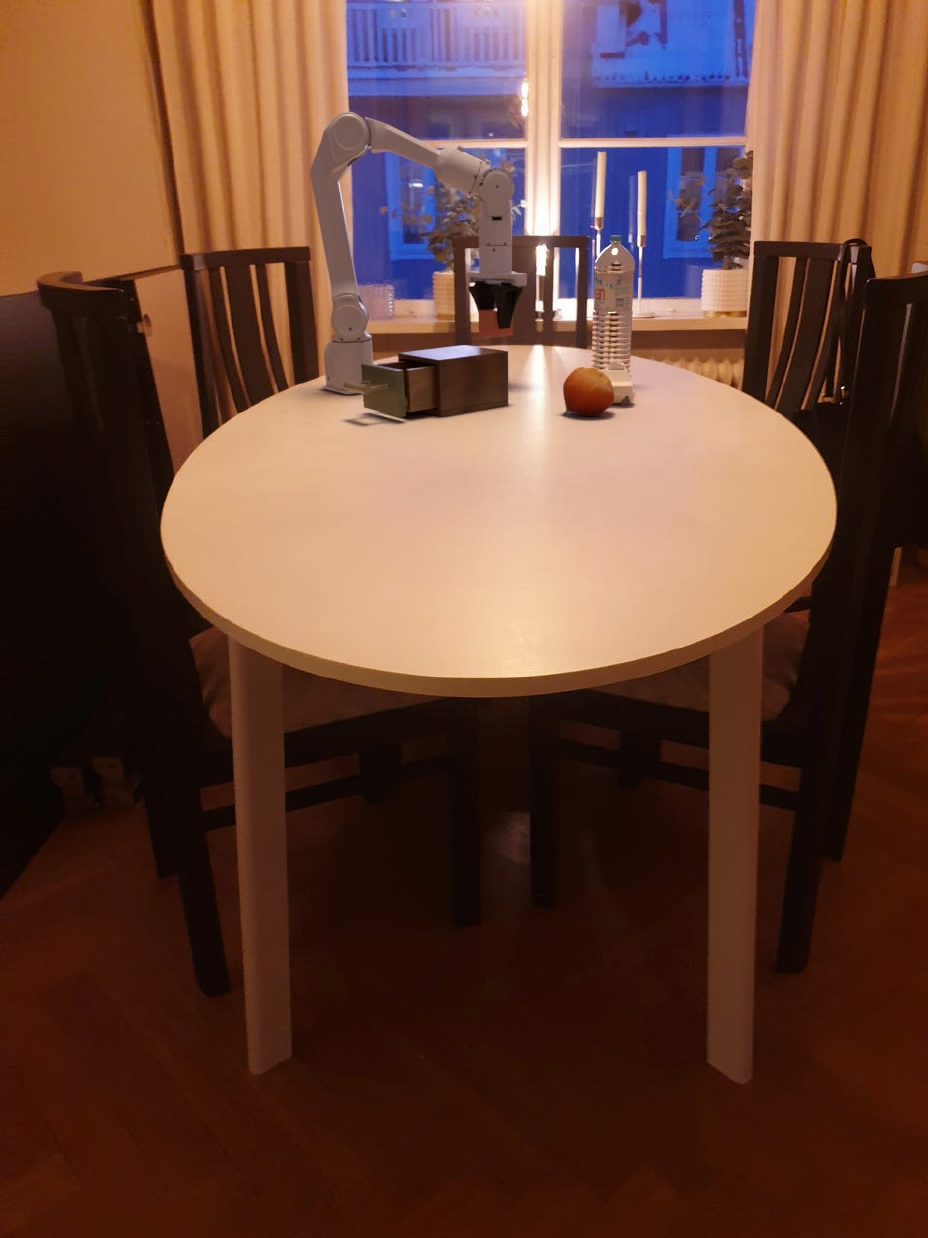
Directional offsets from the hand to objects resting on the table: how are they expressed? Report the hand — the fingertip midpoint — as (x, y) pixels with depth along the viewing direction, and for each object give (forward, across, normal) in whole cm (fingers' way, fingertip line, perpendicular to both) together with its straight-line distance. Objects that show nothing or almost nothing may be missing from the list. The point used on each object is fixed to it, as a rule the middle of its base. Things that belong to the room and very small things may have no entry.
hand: (495, 327), depth 161 cm
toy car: (+10, -26, -4) cm, 28 cm away
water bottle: (+10, -16, -13) cm, 23 cm away
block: (+1, 0, 0) cm, 1 cm away
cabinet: (+10, -11, +18) cm, 23 cm away
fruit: (+10, -31, +7) cm, 33 cm away
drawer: (+9, -11, +28) cm, 31 cm away
